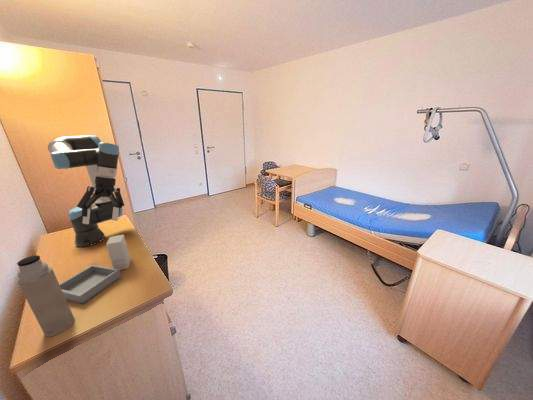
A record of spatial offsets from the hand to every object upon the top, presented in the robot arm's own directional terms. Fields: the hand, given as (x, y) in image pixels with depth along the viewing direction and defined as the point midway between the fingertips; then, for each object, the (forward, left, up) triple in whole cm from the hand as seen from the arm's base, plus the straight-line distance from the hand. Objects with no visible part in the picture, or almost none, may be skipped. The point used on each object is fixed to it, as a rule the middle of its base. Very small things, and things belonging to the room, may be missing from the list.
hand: (101, 222), depth 99 cm
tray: (+13, +1, -26) cm, 29 cm away
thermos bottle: (+31, +12, -26) cm, 42 cm away
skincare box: (-3, +2, -26) cm, 26 cm away
